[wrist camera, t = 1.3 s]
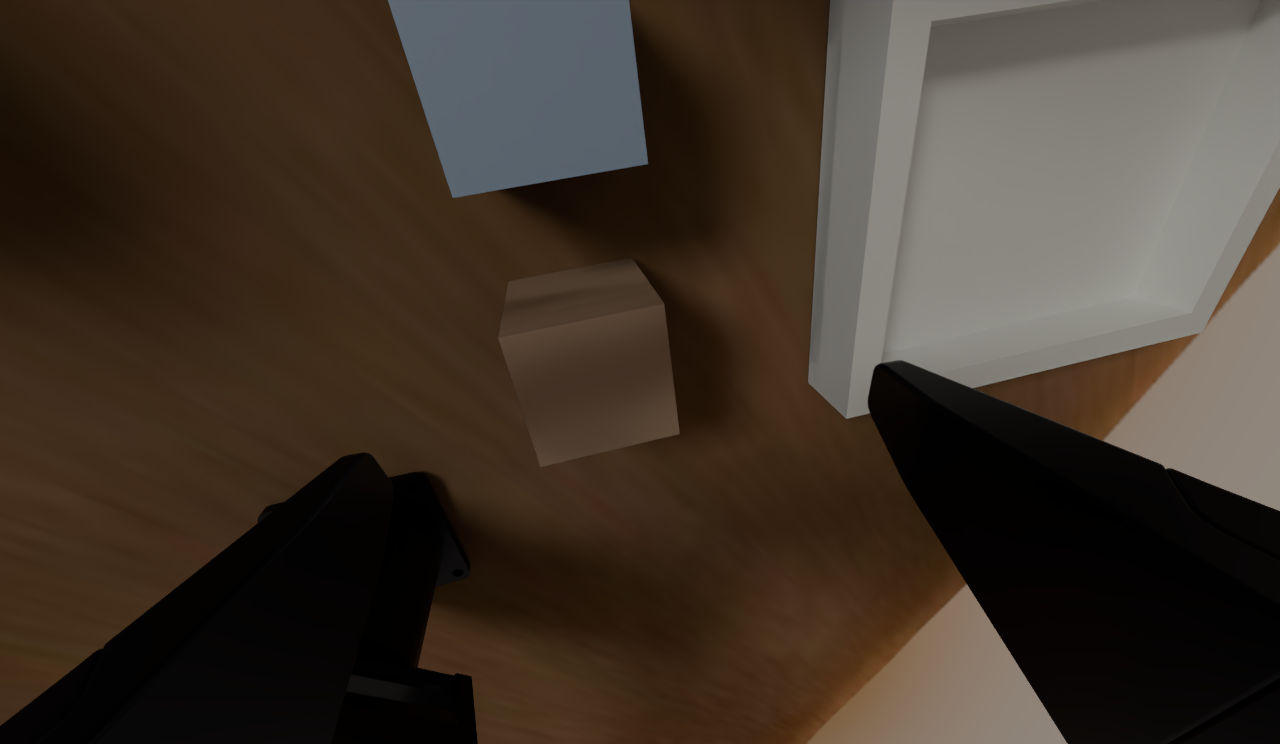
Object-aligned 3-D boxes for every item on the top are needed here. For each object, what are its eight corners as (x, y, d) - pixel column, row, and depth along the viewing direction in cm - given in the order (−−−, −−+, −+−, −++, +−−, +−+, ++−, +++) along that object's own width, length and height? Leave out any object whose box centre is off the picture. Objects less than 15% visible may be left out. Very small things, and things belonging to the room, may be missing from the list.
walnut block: (647, 363, 19) (679, 433, 15) (539, 386, 18) (540, 467, 14) (631, 256, 17) (664, 303, 12) (508, 280, 16) (498, 337, 12)
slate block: (616, 152, 15) (648, 164, 11) (477, 175, 14) (452, 198, 10) (589, -25, 13) (617, -102, 8) (424, -5, 12) (363, -74, 8)
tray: (1126, 308, 23) (1201, 332, 20) (808, 382, 21) (846, 418, 18) (1287, -67, 16) (1435, -105, 13) (830, -3, 14) (896, -32, 11)
